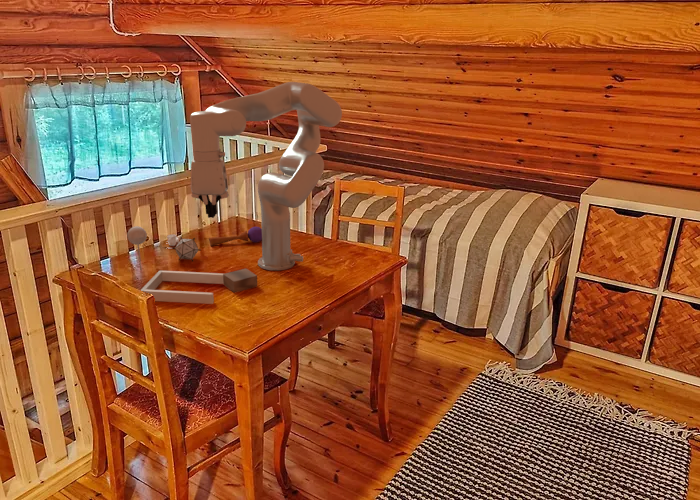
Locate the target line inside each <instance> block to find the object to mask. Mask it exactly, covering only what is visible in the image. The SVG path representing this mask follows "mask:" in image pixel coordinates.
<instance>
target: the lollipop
mask: <svg viewBox="0 0 700 500" xmlns="http://www.w3.org/2000/svg"><path fill="white" fill-rule="evenodd" d="M126 235H127V236H126V238H127V240H128V241H129V242H130V243H131V244H133V245H136V246H137V253H138V261H139V270H140V271H142V269H143V268H142V262H141V253H140V245H141V244H143V243H145V241H146V240H147V237H148V233H147V231H146V230H145V228H143V227H142V226H138V225H136V226H133V227H131V228H129V229H128V232H127V234H126Z"/></svg>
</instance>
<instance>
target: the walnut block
mask: <svg viewBox="0 0 700 500" xmlns="http://www.w3.org/2000/svg"><path fill="white" fill-rule="evenodd" d="M222 274H223V281H224V284H223V285H224V286H225V287H226V288H227V289H228V290H230V292H231V291H232V293H234V294H235V293H238V292H243V291H246V290H249V289H254V288H257V287H258V275H257V274H255V273H254V272H253V271H251V270H249V269H248V268H242V269H238V270H234V271H230V272H226V273H222Z"/></svg>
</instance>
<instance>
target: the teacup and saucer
mask: <svg viewBox="0 0 700 500" xmlns="http://www.w3.org/2000/svg"><path fill="white" fill-rule="evenodd" d="M179 239H180V238H179V237H178V236H177V235H176V234H175V233H171V234H170V233H169V234H167V242H168V243H167V244H168V245H169V246H170V247H167V248H168V250H169V249H171V250H174V249H173V248H175V247H176V245H177V244H178V243H179V241H180V240H179ZM174 246H175V247H174Z"/></svg>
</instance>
